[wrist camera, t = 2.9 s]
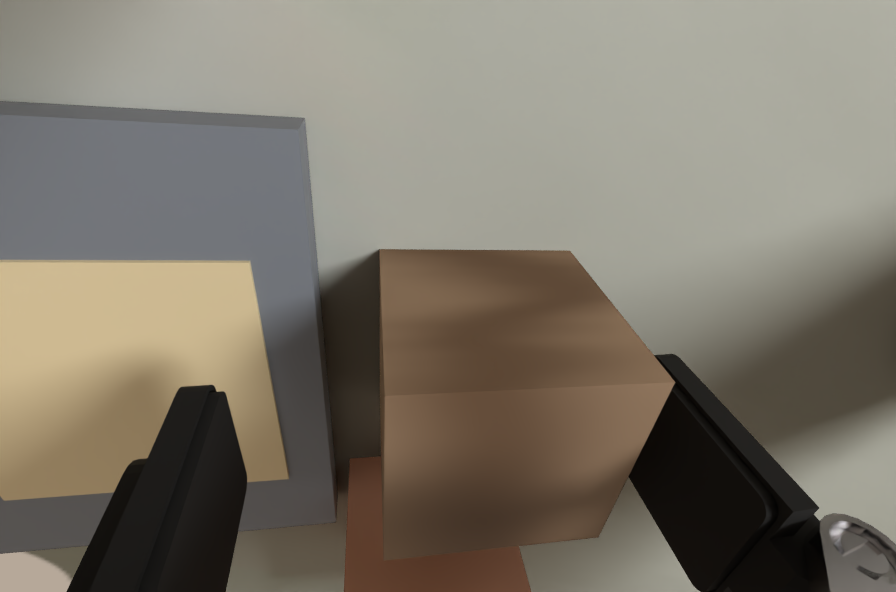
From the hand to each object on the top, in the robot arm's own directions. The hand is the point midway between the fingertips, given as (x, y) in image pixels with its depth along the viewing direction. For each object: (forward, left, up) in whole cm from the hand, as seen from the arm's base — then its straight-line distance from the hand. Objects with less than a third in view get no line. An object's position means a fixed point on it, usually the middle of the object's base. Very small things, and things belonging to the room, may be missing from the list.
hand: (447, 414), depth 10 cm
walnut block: (-1, 0, -3) cm, 3 cm away
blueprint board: (+8, +1, -3) cm, 9 cm away
